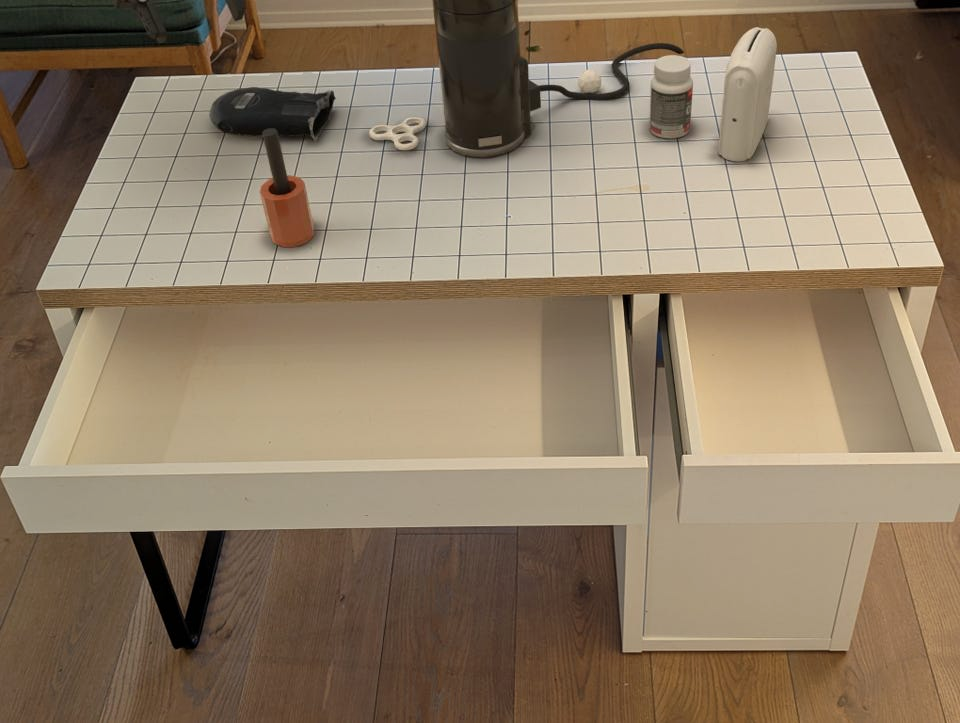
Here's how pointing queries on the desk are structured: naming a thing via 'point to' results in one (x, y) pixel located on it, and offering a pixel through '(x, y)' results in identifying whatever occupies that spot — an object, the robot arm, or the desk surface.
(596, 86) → the polyhedron
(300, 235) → the pen holder
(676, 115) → the pill bottle
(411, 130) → the fidget spinner
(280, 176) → the dark grey rod
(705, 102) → the desk surface
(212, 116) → the electronic device
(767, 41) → the photo printer
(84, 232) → the desk surface
